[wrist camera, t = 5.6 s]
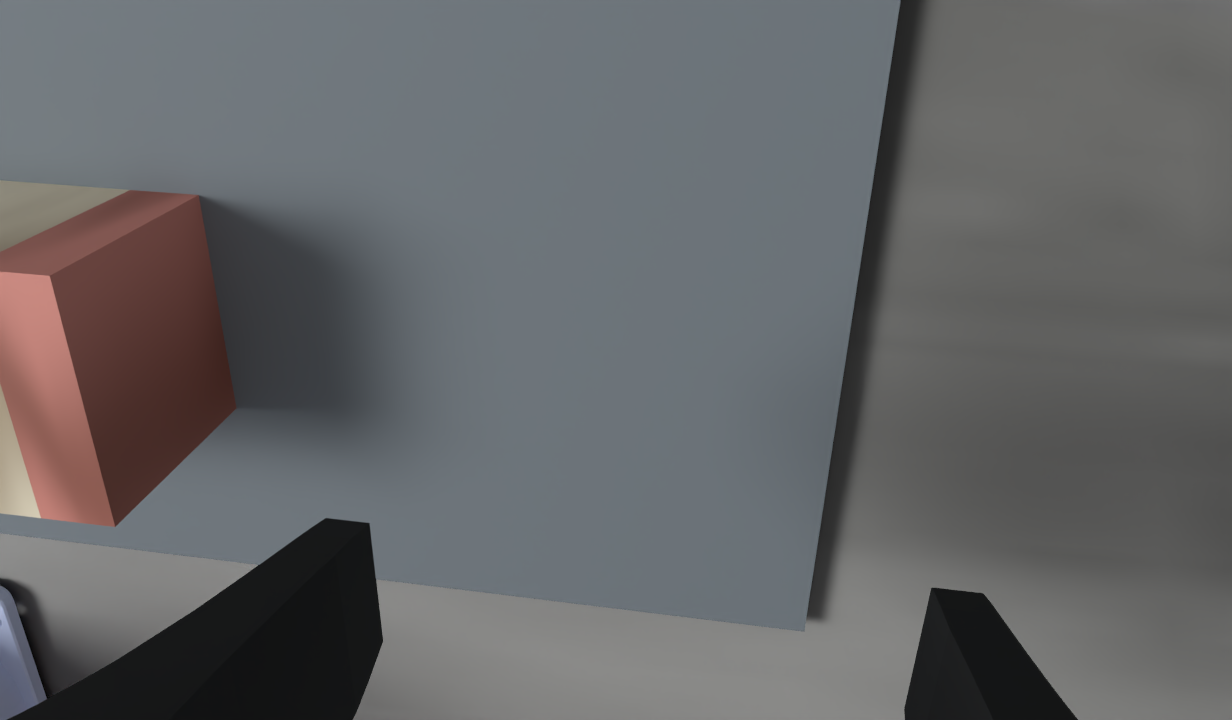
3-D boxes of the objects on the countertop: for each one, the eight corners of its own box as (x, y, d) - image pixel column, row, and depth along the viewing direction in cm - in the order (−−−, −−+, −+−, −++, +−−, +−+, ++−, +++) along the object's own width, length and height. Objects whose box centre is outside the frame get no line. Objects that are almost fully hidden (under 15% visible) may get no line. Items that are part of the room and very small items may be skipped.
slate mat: (803, 616, 22) (804, 631, 22) (-107, 506, 25) (-123, 517, 25) (919, -150, 15) (923, -151, 15) (-375, -183, 18) (-403, -185, 18)
